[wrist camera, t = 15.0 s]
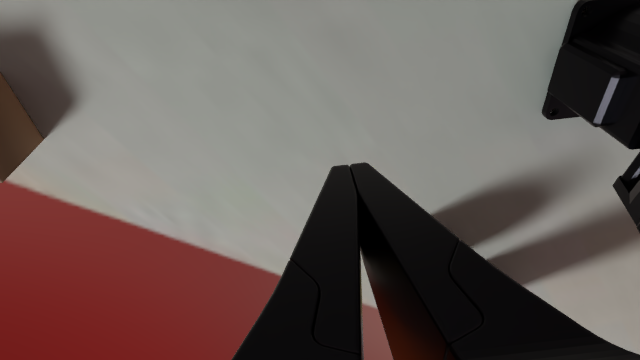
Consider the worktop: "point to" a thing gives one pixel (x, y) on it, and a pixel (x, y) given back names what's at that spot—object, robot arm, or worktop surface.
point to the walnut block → (14, 132)
